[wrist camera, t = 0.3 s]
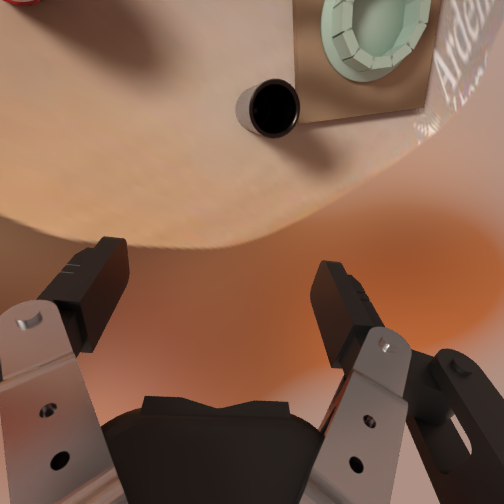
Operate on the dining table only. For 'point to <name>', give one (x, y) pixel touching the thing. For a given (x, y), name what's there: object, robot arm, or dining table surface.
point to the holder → (370, 35)
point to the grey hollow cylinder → (269, 108)
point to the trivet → (349, 92)
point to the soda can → (22, 2)
